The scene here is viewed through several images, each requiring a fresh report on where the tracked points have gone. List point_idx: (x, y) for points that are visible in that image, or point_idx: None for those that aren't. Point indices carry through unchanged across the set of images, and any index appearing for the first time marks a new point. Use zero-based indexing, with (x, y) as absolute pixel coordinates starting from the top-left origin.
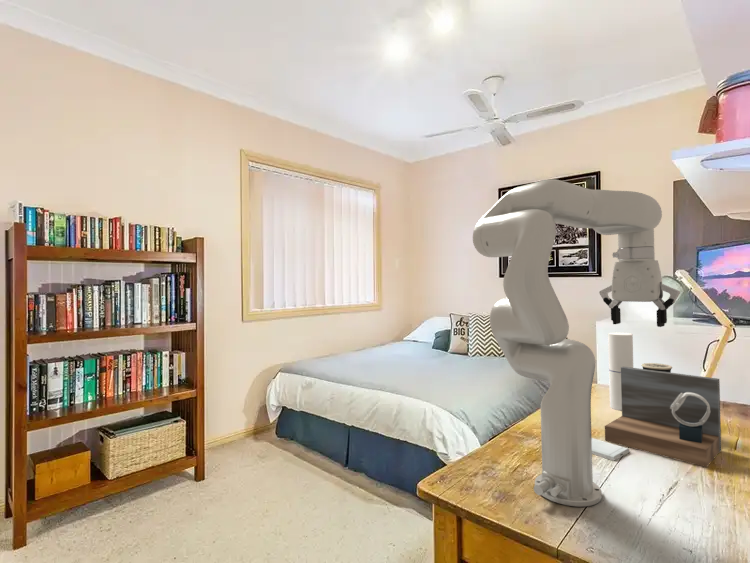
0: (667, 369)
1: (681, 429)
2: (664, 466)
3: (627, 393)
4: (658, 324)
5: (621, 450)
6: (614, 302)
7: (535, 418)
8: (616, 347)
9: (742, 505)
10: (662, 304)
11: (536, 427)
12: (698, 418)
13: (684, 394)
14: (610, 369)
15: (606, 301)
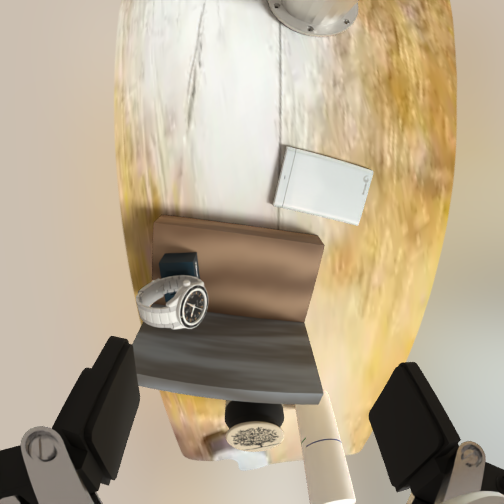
0: (231, 427)
1: (190, 259)
2: (212, 174)
3: (300, 351)
4: (116, 343)
5: (282, 185)
6: (465, 486)
7: (430, 274)
8: (337, 478)
9: (114, 106)
10: (27, 465)
11: (424, 230)
12: None
13: (172, 311)
14: (339, 442)
15: (497, 477)
